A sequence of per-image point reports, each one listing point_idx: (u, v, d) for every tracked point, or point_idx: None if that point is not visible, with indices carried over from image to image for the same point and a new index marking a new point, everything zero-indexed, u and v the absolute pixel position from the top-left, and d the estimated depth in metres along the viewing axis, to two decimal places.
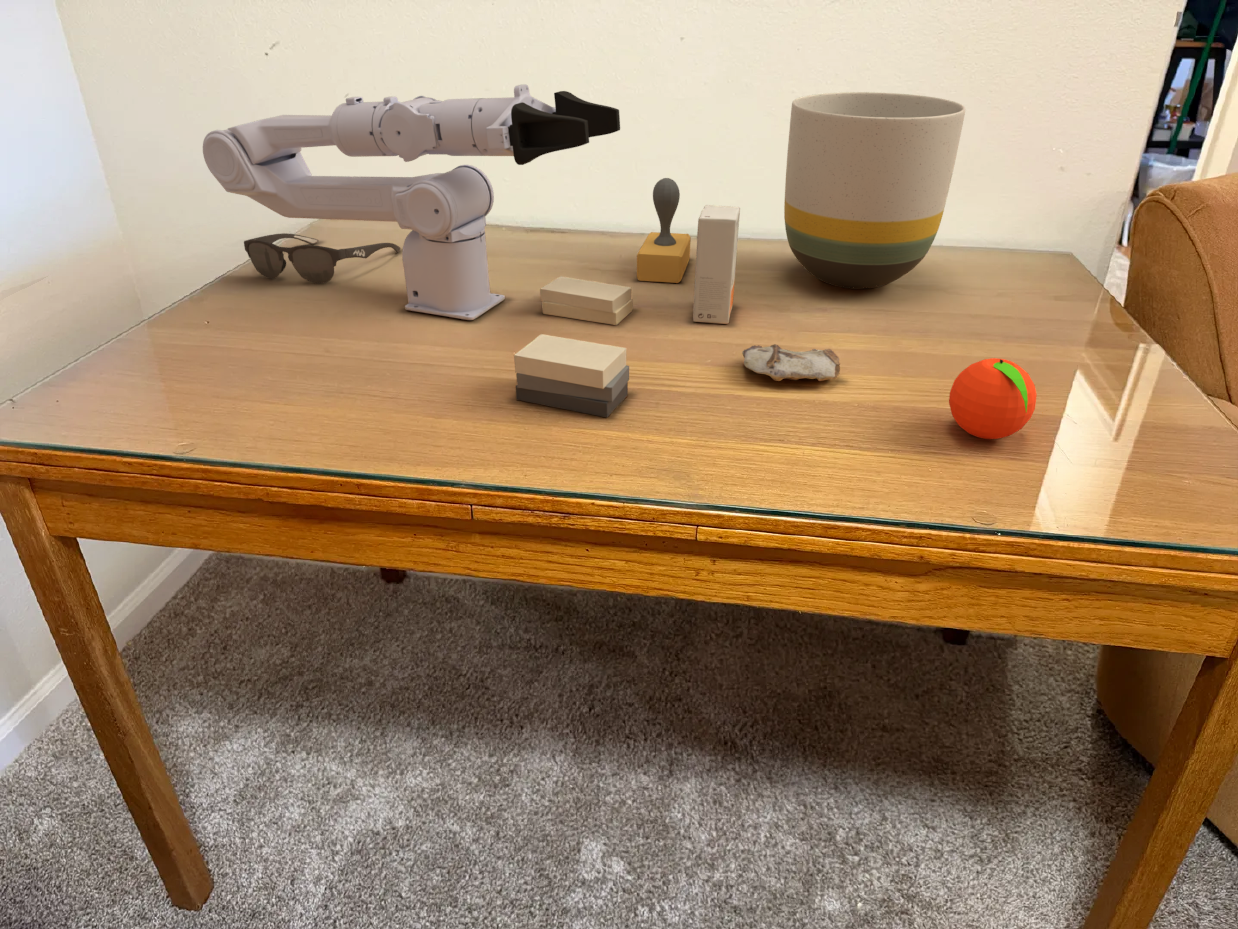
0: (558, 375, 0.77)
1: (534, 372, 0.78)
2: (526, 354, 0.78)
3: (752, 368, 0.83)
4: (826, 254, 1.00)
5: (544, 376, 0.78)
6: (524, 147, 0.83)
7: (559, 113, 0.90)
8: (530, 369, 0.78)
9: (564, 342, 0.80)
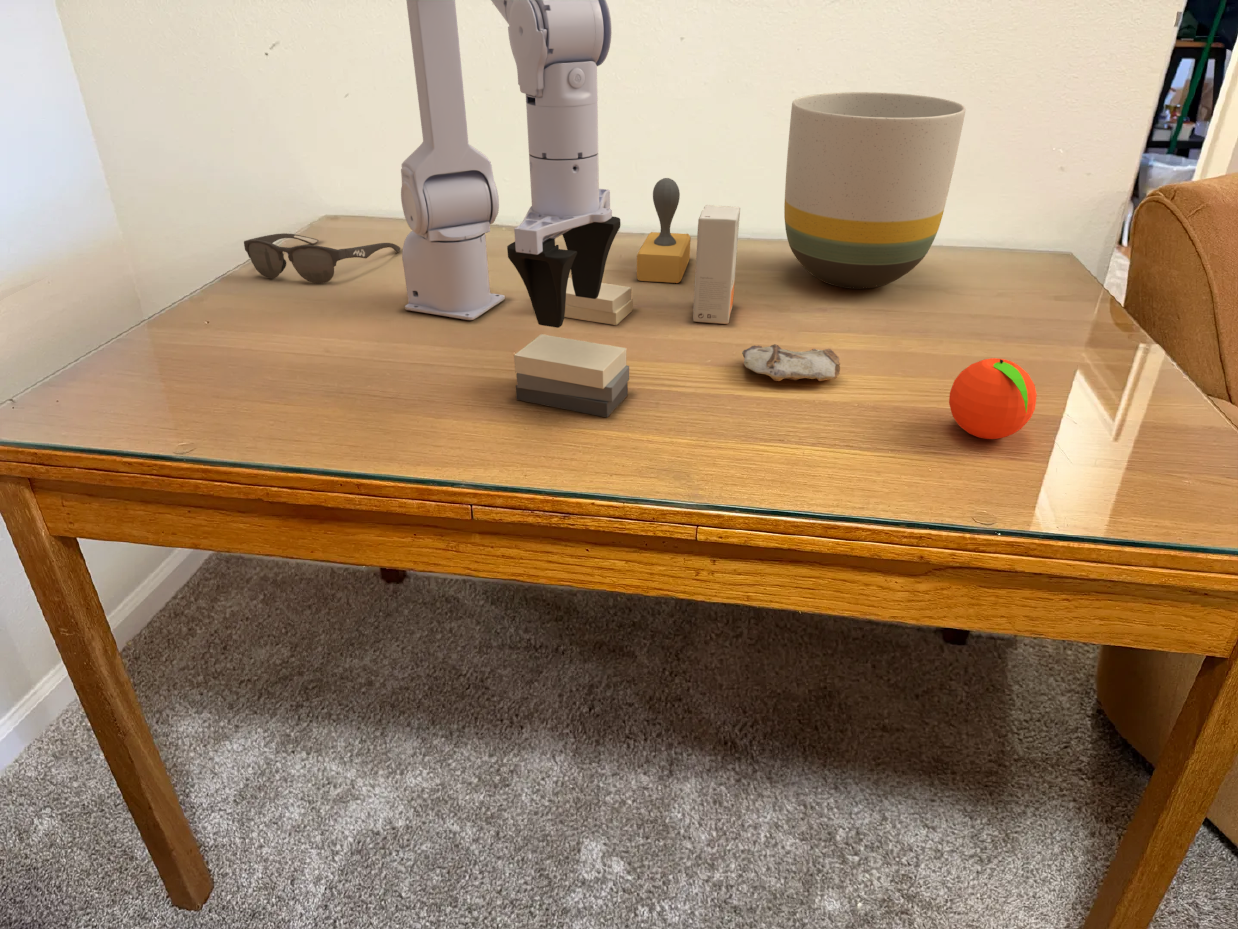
0: (558, 375, 0.77)
1: (534, 372, 0.78)
2: (526, 354, 0.78)
3: (752, 368, 0.83)
4: (826, 254, 1.00)
5: (544, 376, 0.78)
6: (525, 258, 0.69)
7: (592, 226, 0.76)
8: (530, 369, 0.78)
9: (564, 342, 0.80)
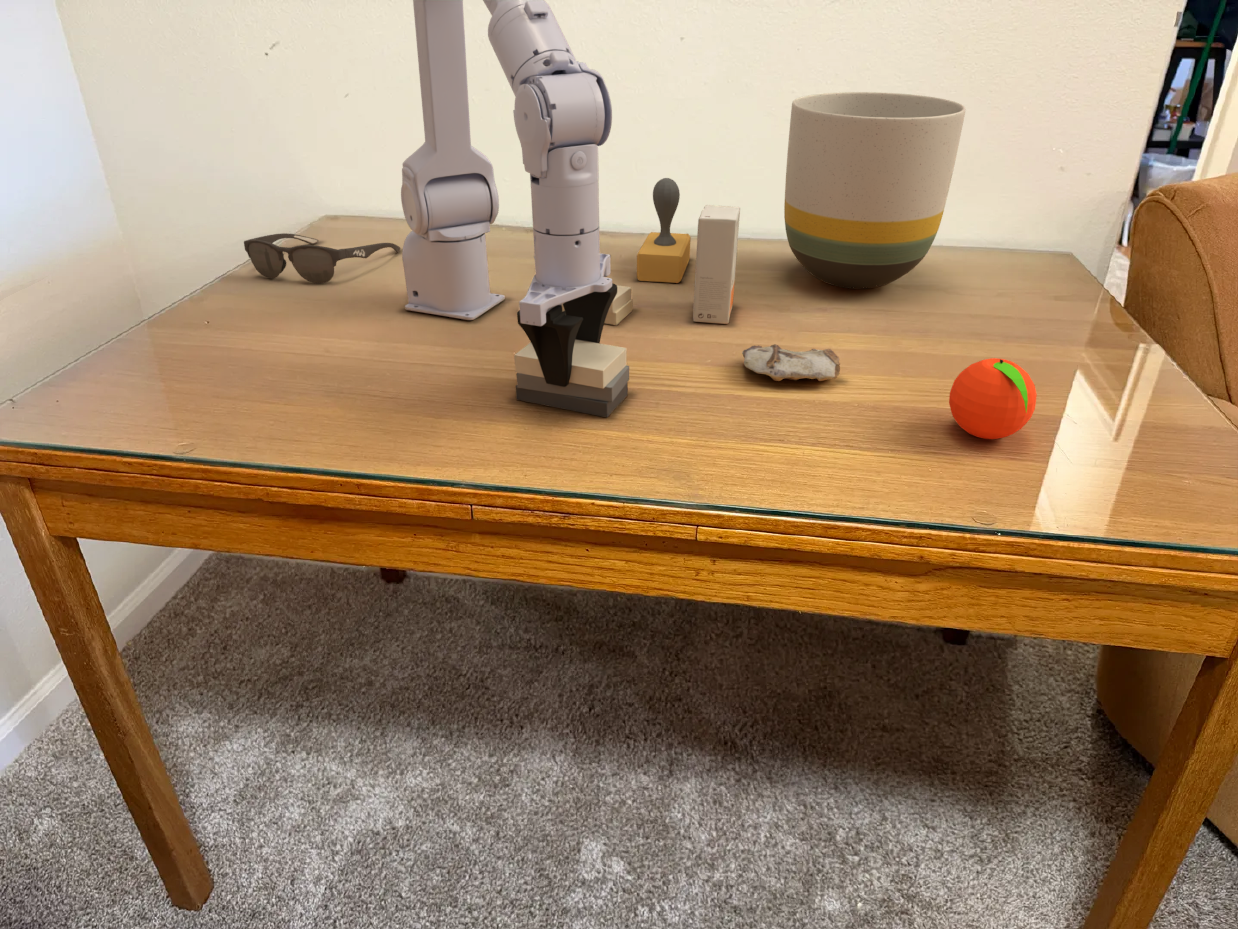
0: None
1: (534, 371, 0.78)
2: (526, 354, 0.78)
3: (752, 368, 0.83)
4: (826, 254, 1.00)
5: None
6: None
7: (590, 293, 0.78)
8: (530, 369, 0.78)
9: None
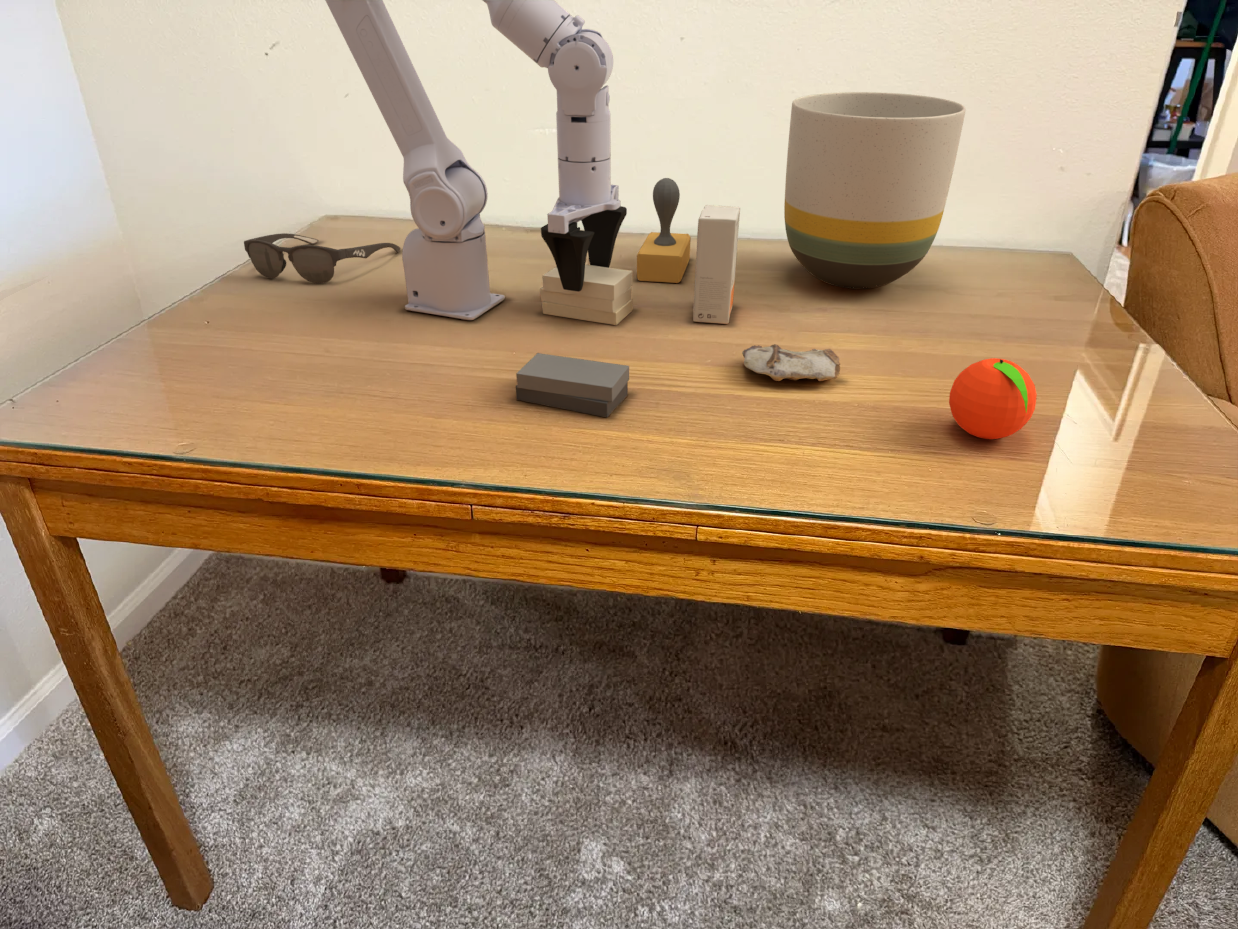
0: None
1: (558, 289, 0.97)
2: (552, 275, 0.97)
3: (752, 368, 0.83)
4: (826, 254, 1.00)
5: (566, 292, 0.97)
6: (555, 237, 0.91)
7: (604, 213, 0.97)
8: (555, 286, 0.97)
9: None
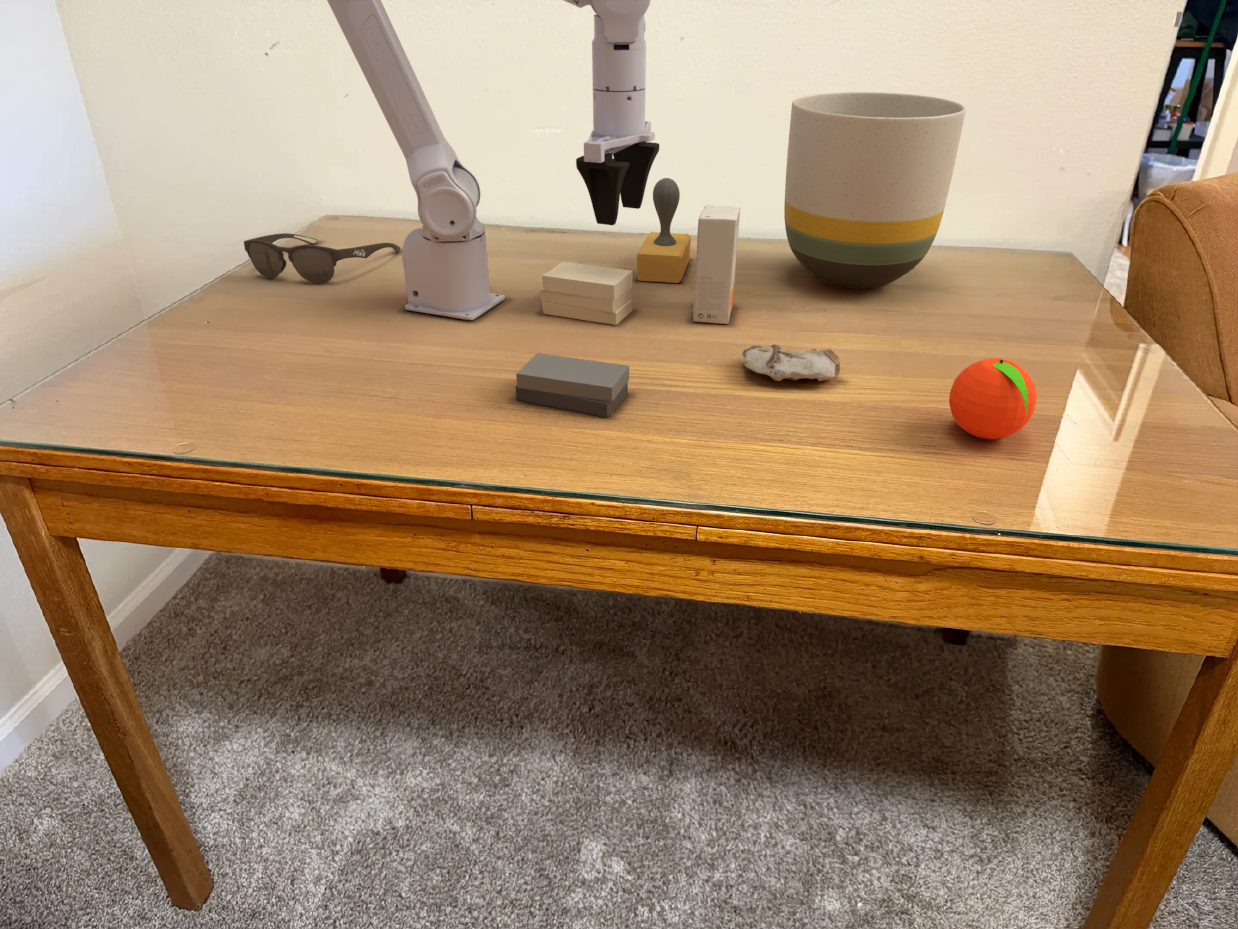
0: (578, 290, 0.96)
1: (558, 289, 0.97)
2: (552, 275, 0.97)
3: (752, 368, 0.83)
4: (826, 254, 1.00)
5: (566, 292, 0.97)
6: (590, 168, 0.91)
7: (637, 149, 0.97)
8: (555, 286, 0.97)
9: (582, 267, 1.00)
